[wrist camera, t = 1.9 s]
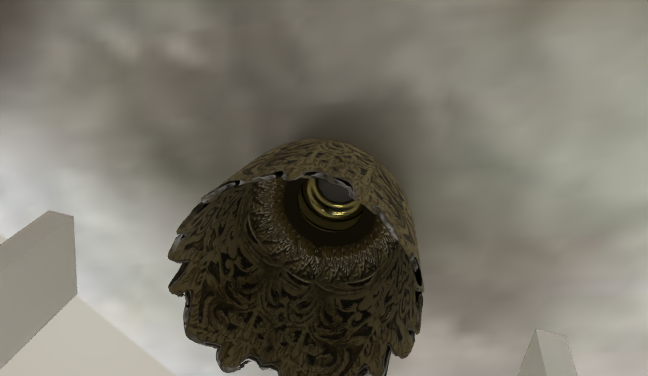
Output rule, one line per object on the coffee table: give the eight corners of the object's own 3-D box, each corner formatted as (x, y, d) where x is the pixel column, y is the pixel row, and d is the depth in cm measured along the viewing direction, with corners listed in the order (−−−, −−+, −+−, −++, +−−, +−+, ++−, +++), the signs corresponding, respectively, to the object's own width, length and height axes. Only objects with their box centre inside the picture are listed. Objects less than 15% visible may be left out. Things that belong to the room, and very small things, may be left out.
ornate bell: (464, 142, 21) (474, 252, 14) (386, 288, 24) (362, 435, 17) (282, 64, 21) (200, 134, 14) (229, 220, 25) (142, 339, 17)
